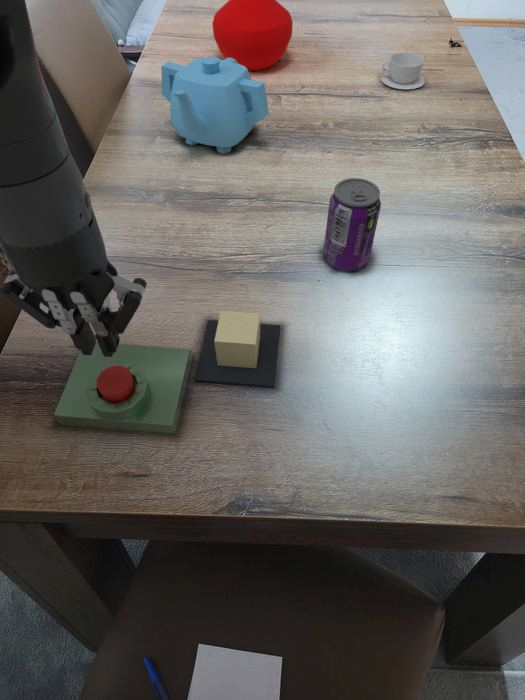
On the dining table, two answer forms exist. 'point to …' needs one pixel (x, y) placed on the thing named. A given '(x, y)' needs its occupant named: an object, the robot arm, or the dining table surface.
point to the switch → (115, 383)
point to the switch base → (147, 398)
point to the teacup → (403, 71)
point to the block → (237, 339)
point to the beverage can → (351, 223)
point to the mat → (240, 375)
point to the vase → (253, 32)
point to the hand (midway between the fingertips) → (100, 349)
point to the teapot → (213, 101)
